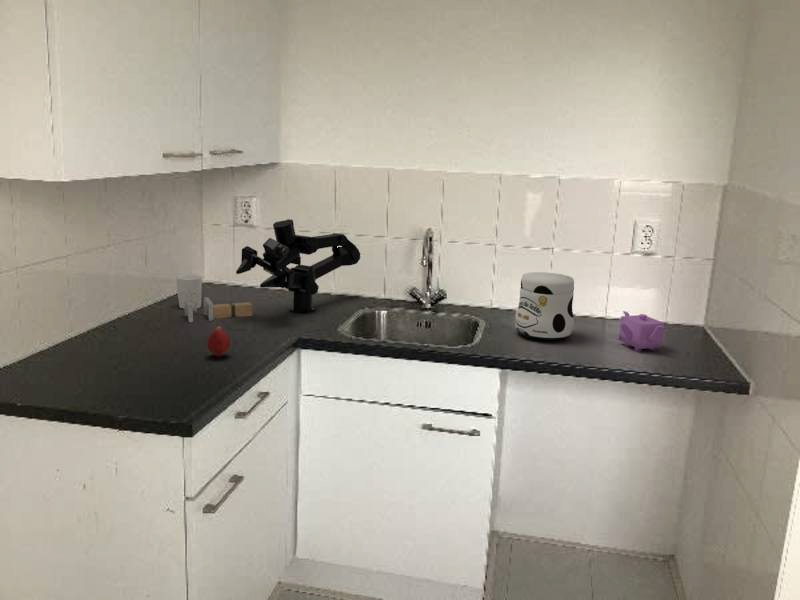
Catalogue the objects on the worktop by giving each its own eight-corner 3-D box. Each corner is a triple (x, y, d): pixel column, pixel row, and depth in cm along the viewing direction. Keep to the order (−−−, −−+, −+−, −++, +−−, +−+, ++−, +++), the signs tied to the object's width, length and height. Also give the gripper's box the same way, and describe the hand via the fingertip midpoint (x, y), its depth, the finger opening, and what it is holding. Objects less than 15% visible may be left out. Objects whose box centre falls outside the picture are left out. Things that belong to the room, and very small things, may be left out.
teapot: (599, 340, 213) (603, 308, 211) (636, 337, 218) (640, 306, 215) (638, 358, 197) (642, 324, 195) (677, 355, 201) (681, 321, 199)
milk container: (506, 338, 212) (510, 278, 207) (522, 325, 227) (527, 269, 223) (564, 347, 204) (570, 286, 200) (577, 333, 220) (583, 275, 216)
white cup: (198, 310, 230) (197, 279, 227) (174, 309, 230) (173, 278, 227) (205, 304, 237) (204, 274, 235) (181, 303, 237) (180, 273, 235)
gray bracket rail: (206, 311, 228) (206, 295, 227) (213, 320, 218) (212, 303, 217) (183, 313, 225) (182, 296, 224) (189, 322, 215) (188, 304, 214)
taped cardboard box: (249, 313, 229) (249, 302, 228) (252, 315, 226) (252, 304, 225) (211, 315, 224) (211, 304, 223) (213, 318, 221) (213, 307, 220)
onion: (218, 361, 181) (218, 331, 179) (202, 357, 184) (201, 327, 182) (235, 356, 186) (234, 326, 184) (219, 351, 189) (218, 322, 187)
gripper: (260, 223, 220) (224, 243, 209) (308, 248, 214) (274, 270, 203) (259, 253, 227) (224, 274, 216) (305, 278, 221) (272, 301, 209)
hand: (248, 279), depth 211 cm, fingers open, 9 cm apart
